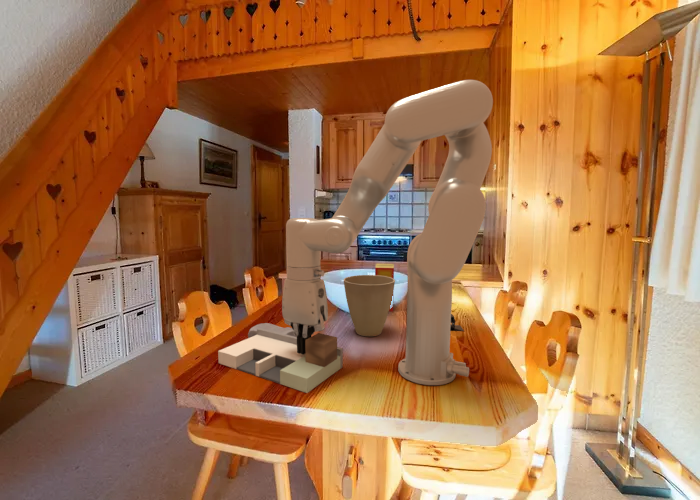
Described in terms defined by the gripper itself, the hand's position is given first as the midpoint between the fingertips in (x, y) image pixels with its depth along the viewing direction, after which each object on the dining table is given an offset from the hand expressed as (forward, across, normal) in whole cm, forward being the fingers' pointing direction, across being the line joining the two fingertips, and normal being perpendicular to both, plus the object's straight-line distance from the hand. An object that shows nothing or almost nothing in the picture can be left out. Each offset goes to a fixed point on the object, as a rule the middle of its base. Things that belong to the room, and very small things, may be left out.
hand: (304, 351), depth 81 cm
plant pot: (+4, -2, -28) cm, 28 cm away
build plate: (+4, -21, -44) cm, 49 cm away
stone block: (+4, +18, -9) cm, 20 cm away
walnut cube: (+1, -5, 0) cm, 5 cm away
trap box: (+4, +5, +2) cm, 7 cm away
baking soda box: (+4, +5, -54) cm, 54 cm away
